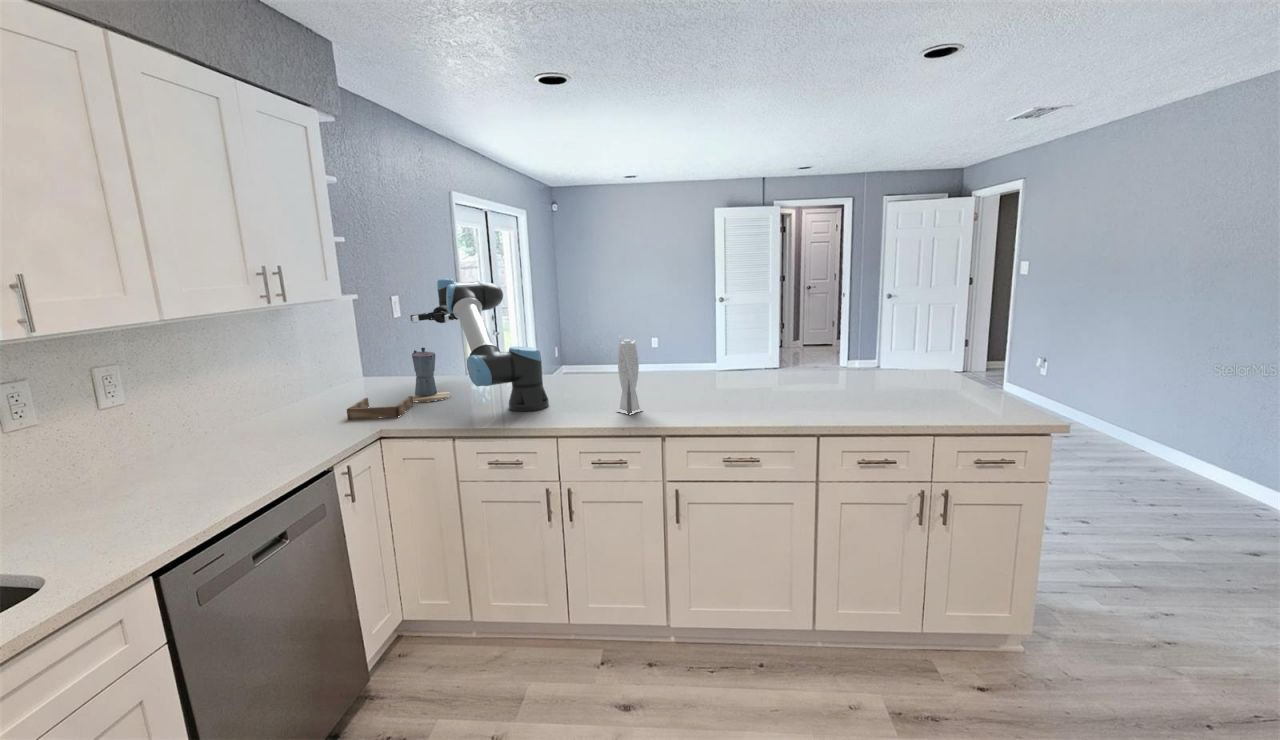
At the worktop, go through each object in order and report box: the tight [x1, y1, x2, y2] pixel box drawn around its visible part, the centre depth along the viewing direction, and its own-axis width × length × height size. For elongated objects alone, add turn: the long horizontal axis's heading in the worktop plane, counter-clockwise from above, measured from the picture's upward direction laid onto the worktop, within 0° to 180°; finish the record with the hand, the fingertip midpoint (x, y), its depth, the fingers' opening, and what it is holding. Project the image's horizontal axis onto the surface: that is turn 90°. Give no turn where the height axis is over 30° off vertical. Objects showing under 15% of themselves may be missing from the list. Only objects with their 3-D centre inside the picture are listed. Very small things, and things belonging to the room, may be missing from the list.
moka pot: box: [411, 347, 438, 396], centre depth 238 cm, size 10×15×20 cm, turn 55°
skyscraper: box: [617, 335, 641, 414], centre depth 205 cm, size 8×8×28 cm
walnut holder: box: [346, 395, 415, 421], centre depth 215 cm, size 17×18×4 cm
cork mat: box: [412, 390, 452, 402], centre depth 236 cm, size 16×16×1 cm
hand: (429, 319), depth 239 cm, fingers open, 13 cm apart
